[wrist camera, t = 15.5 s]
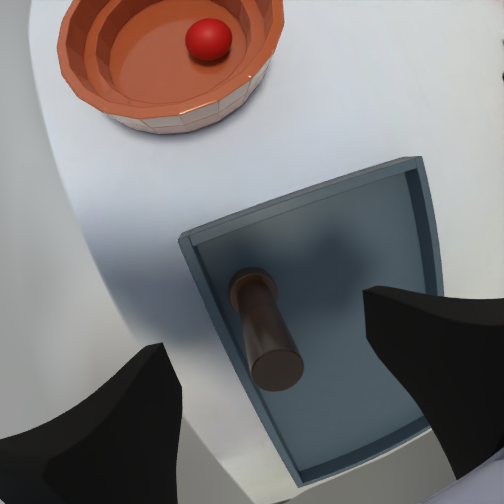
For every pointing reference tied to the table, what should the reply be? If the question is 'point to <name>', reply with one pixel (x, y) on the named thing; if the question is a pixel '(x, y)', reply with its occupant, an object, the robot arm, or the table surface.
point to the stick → (265, 331)
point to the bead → (208, 39)
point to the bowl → (165, 59)
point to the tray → (327, 307)
